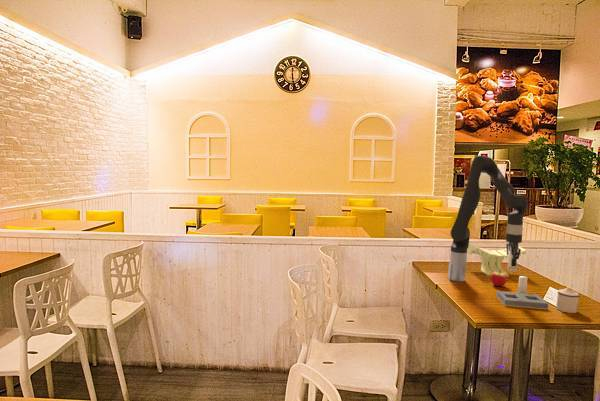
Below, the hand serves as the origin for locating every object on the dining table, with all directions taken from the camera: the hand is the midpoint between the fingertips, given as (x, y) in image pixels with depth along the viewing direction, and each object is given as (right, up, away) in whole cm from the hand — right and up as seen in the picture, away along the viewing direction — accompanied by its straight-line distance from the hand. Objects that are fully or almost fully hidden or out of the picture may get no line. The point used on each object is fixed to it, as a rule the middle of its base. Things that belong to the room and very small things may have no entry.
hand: (512, 265), depth 219 cm
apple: (+4, -16, +23) cm, 29 cm away
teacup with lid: (+20, -20, -11) cm, 31 cm away
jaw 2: (+9, -18, +8) cm, 22 cm away
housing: (+2, -19, -5) cm, 19 cm away
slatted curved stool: (+15, -13, +52) cm, 56 cm away
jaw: (0, -3, 0) cm, 3 cm away
